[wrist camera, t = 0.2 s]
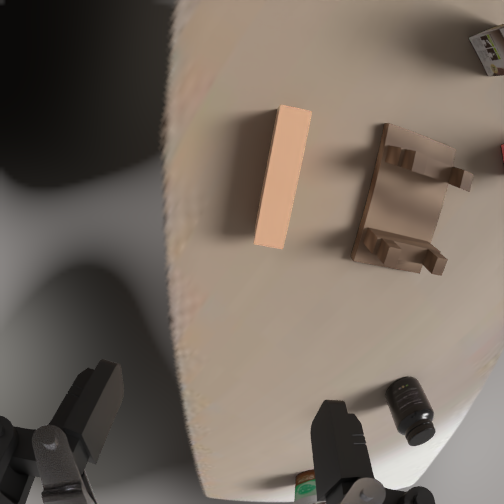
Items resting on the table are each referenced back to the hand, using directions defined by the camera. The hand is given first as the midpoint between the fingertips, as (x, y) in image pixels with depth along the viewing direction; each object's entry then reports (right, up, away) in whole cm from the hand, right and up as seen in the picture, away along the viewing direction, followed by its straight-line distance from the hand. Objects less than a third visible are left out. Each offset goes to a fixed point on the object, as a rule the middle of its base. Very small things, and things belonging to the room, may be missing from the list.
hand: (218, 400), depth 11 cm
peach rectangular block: (+4, +15, +24) cm, 28 cm away
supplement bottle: (+28, -19, +37) cm, 50 cm away
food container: (+15, -48, +49) cm, 71 cm away
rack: (+20, +12, +24) cm, 33 cm away
